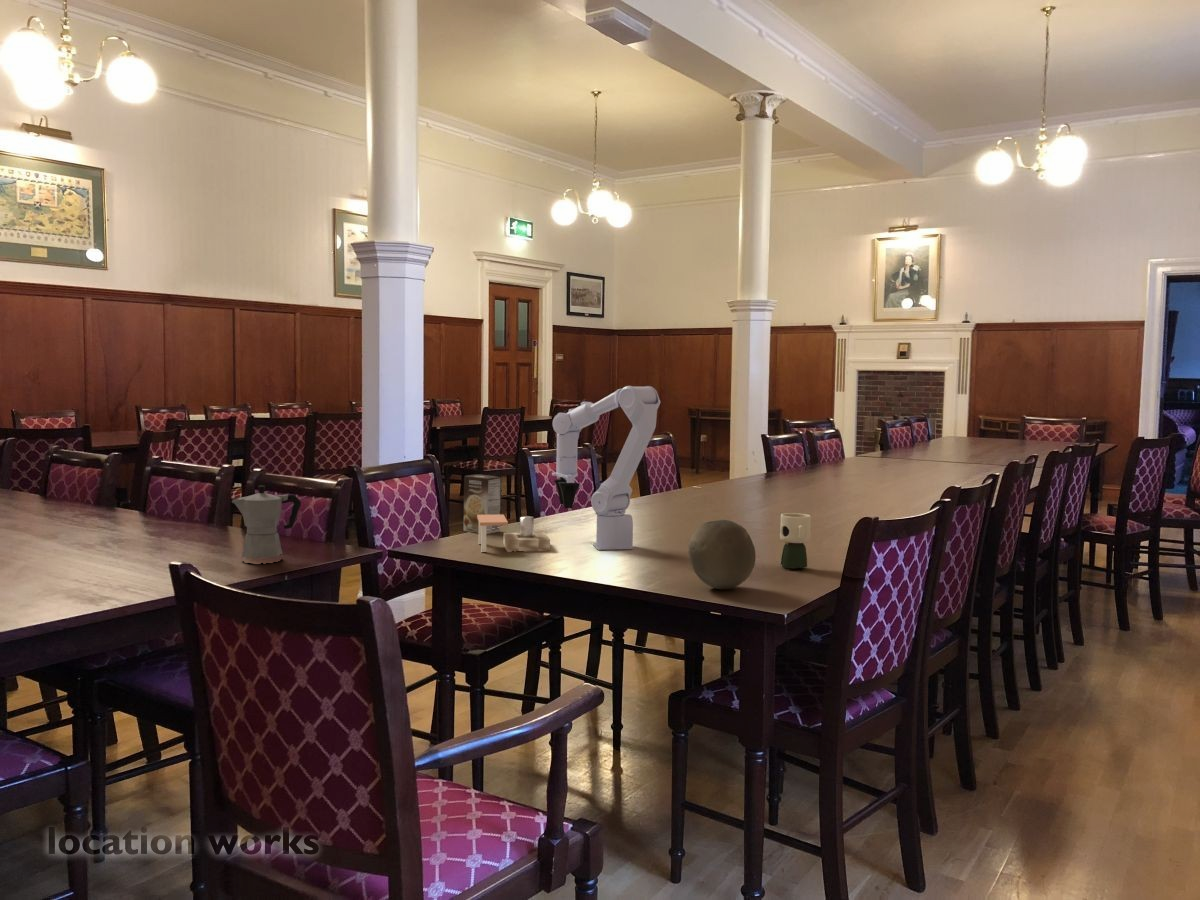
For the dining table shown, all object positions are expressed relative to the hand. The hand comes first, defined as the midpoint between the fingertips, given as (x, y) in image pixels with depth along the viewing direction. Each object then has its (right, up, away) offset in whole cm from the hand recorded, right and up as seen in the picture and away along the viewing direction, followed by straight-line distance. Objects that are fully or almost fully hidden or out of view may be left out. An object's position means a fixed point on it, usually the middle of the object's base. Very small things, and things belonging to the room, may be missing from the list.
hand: (566, 506), depth 250 cm
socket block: (-10, -10, -11) cm, 18 cm away
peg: (-10, -10, -11) cm, 18 cm away
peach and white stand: (-19, -10, -13) cm, 25 cm away
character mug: (+56, -13, -31) cm, 65 cm away
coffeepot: (-70, -11, -34) cm, 78 cm away
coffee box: (-25, -8, +12) cm, 29 cm away
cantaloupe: (+35, -15, -55) cm, 67 cm away
